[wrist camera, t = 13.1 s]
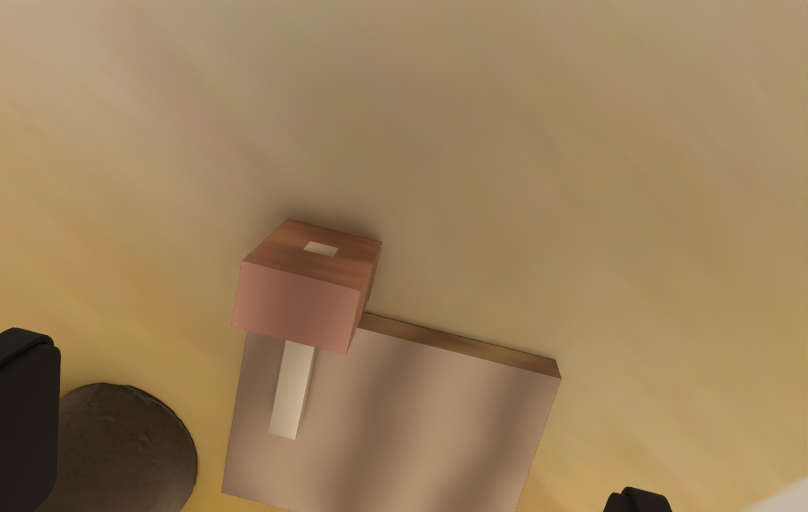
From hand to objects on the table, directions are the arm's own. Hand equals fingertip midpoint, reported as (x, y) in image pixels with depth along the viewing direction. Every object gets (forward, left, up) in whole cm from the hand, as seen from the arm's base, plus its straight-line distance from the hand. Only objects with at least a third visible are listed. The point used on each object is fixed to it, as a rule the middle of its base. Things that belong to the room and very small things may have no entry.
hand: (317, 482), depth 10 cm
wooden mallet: (+4, +8, -22) cm, 23 cm away
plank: (-1, +13, -22) cm, 25 cm away
